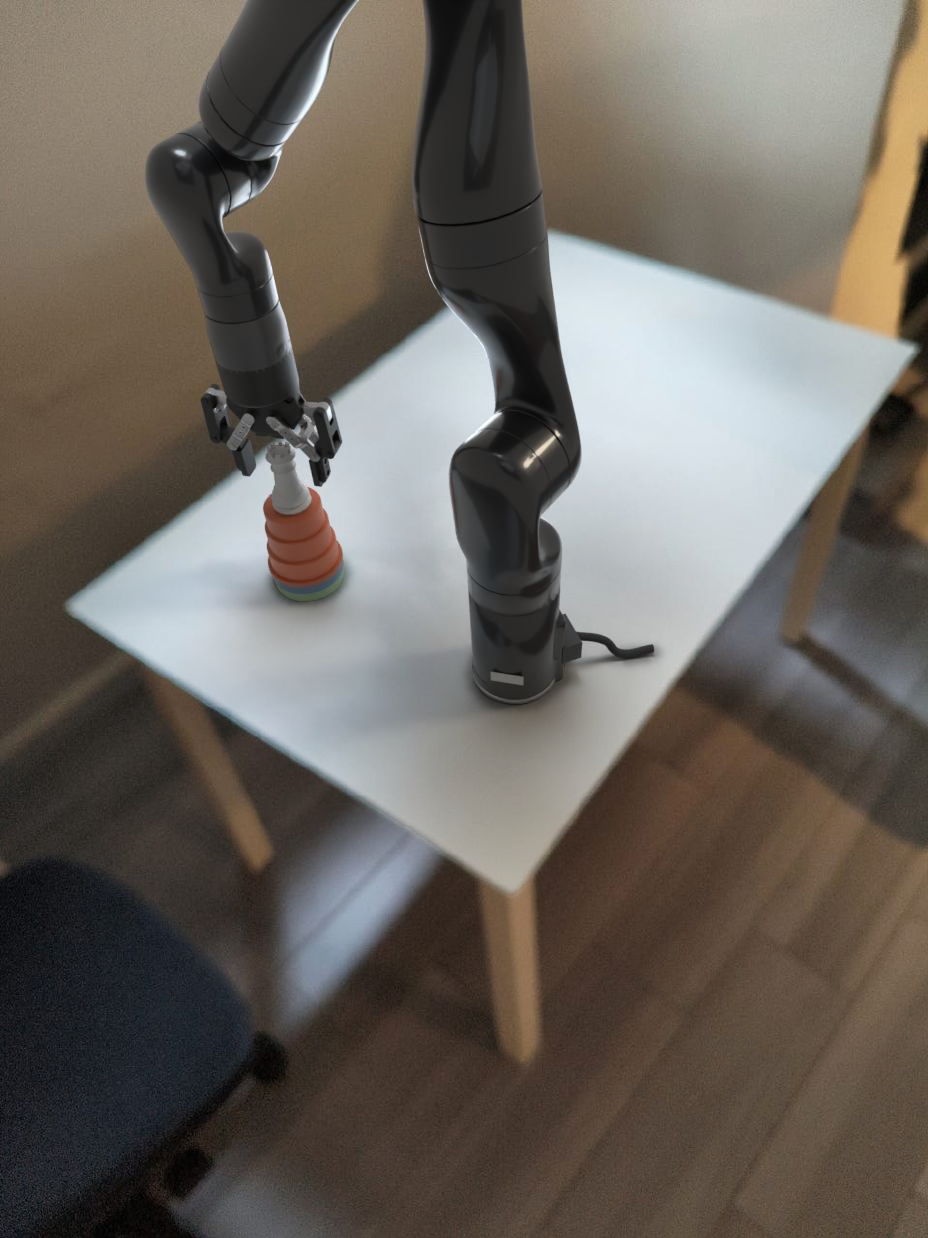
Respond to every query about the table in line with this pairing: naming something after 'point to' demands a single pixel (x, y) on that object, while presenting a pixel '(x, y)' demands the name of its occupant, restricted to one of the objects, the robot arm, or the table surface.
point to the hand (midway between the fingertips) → (285, 476)
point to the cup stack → (303, 551)
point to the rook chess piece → (286, 481)
